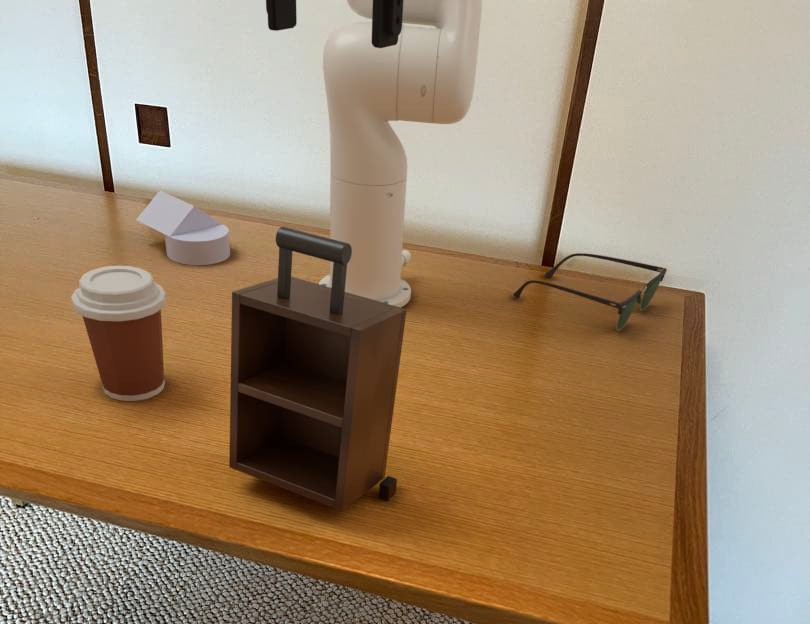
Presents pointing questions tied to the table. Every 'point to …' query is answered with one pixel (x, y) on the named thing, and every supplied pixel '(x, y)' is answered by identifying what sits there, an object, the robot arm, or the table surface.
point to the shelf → (313, 378)
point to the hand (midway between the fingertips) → (332, 37)
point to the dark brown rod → (387, 488)
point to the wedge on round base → (187, 231)
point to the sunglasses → (623, 308)
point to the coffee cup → (124, 329)
